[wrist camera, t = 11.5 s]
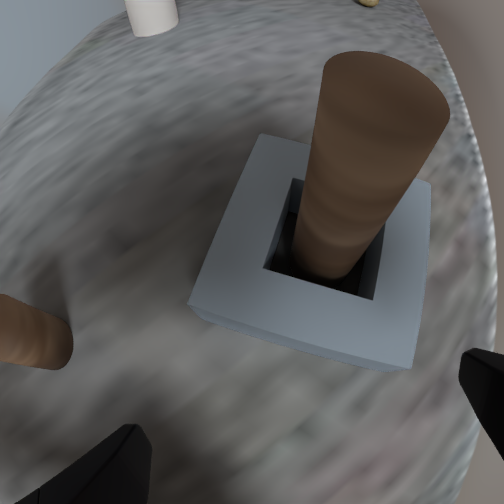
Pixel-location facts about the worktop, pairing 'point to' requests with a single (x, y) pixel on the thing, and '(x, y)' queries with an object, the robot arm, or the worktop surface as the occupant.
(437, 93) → the tall walnut pin
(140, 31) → the cylindrical container
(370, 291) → the sleeve block
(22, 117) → the worktop surface
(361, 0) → the decorative mushroom
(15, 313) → the short walnut pin
